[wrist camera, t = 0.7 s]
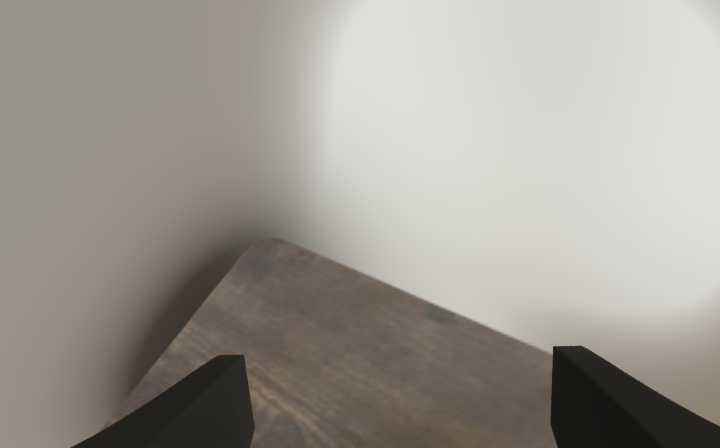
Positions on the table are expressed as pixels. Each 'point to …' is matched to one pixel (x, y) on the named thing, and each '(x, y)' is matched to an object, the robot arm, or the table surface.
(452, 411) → the table surface
